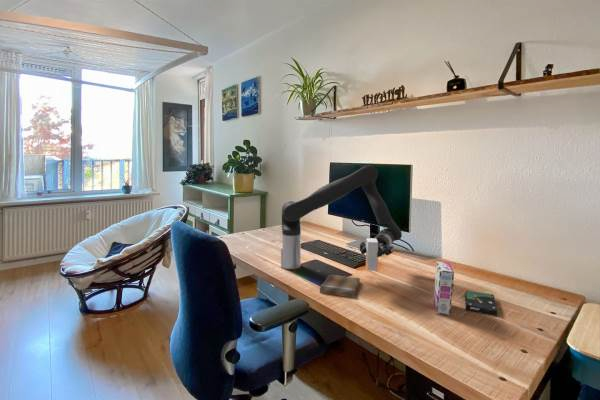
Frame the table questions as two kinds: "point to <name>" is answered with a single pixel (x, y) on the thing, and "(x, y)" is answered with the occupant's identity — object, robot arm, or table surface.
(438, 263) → the candy bar box
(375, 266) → the skincare box
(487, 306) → the disk drive
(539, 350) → the table surface
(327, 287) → the walnut riser
